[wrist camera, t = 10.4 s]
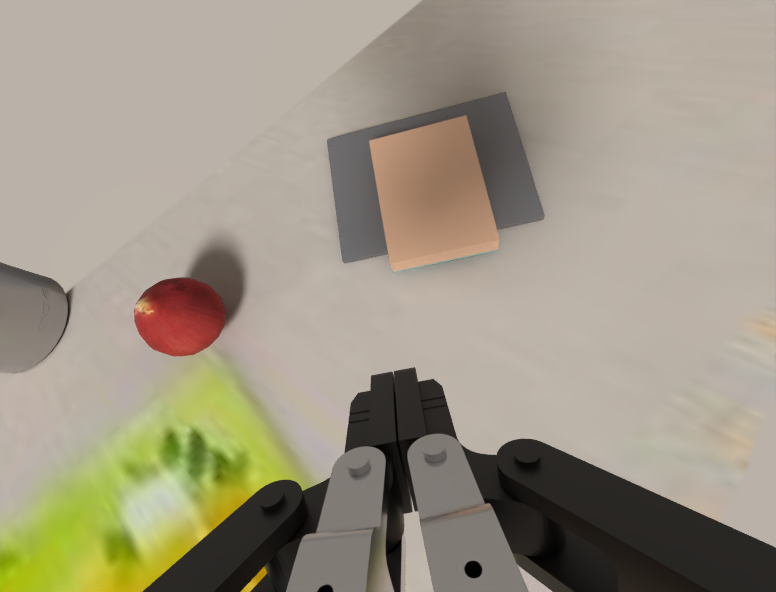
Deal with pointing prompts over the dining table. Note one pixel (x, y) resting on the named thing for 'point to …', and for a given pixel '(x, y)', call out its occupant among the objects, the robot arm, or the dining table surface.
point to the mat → (485, 117)
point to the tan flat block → (432, 195)
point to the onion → (179, 316)
